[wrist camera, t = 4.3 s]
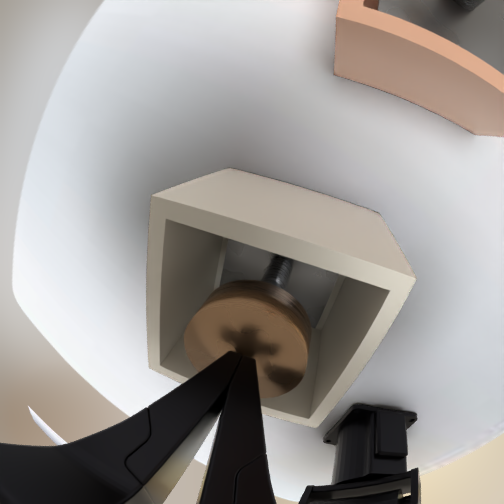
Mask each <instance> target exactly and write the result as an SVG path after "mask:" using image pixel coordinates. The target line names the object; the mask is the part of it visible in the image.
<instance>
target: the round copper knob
mask: <svg viewBox="0 0 504 504" xmlns="http://www.w3.org/2000/svg"><path fill="white" fill-rule="evenodd" d="M338 276H339V274H338V273H335V272H332V271H329V270H325V269H322V268H319V267H316V266H313V265H310V264H307V263H304V262H301V261H298V260H294V259H291V258H288V257H285V256H282V255H279V254H276V253H273V252H269V251H266V250H263V249H260V248H257V247H254V246H251V245H248V244H244V243H241V242H238V241H235V240H232V239H228V244H227V249H226V255H225V260H224V265H223V270H222V275H221V281H220V286H219V287H218V288H217V289H215V290H214V291H213V292H212V293H211V294H210V295H209V297H208V298H207V299H206V301H205V302H204V303H203V305H202V306H201V307H200V309H199V310H198V311H197V313H196V314H195V315H194V317H193V318H192V319H191V321H190V322H189V324H188V325H187V327H186V330H185V333H184V346H185V350H186V353H187V356H188V358H189V360H190V361H191V363H192V364H193V366H194V367H195V368H196V370H197V371H198V372H200V371H201V370H203V369H204V368H206V367H207V366H209V365H210V364H211V363H213V362H214V361H216V360H217V359H218V358H220V357H221V356H222V355H224V354H225V353H227V352H228V351H234V352H237V353H240V354H241V355H242V356H244V355H246V356H249V357H251V358H254V359H255V360H256V365H257V374H258V383H259V392H260V398H272V397H277V396H280V395H283V394H285V393H287V392H289V391H291V390H292V389H294V388H295V387H296V386H297V385H298V384H299V383H300V382H301V380H302V379H303V377H304V375H305V371H306V366H307V360H308V354H309V348H310V342H311V333H312V329H311V327H312V328H316V326H317V324H318V322H319V319H320V317H321V315H322V313H323V311H324V308H325V306H326V304H327V302H328V299H329V297H330V295H331V292H332V290H333V288H334V285H335V283H336V280H337V278H338Z"/></svg>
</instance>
